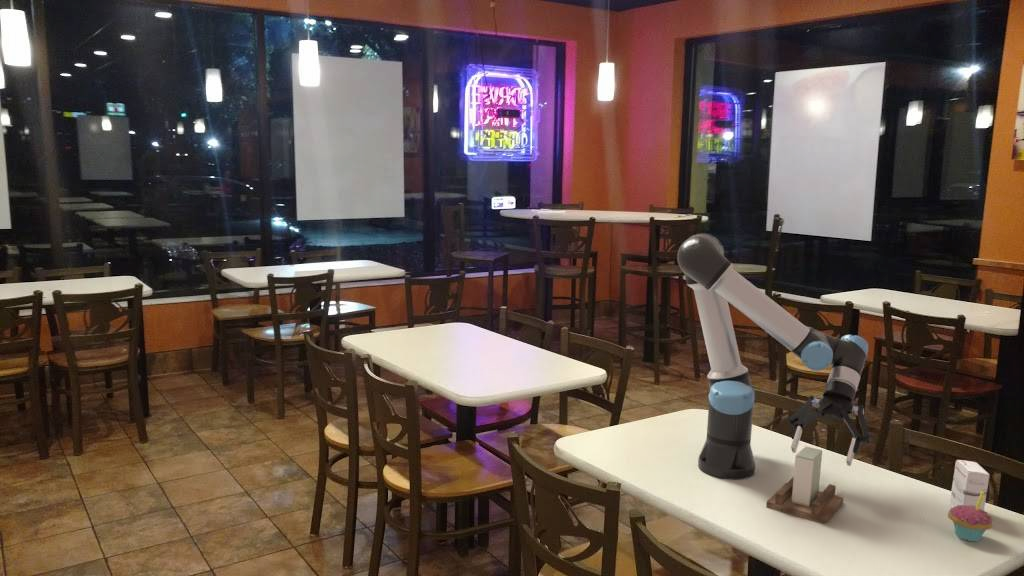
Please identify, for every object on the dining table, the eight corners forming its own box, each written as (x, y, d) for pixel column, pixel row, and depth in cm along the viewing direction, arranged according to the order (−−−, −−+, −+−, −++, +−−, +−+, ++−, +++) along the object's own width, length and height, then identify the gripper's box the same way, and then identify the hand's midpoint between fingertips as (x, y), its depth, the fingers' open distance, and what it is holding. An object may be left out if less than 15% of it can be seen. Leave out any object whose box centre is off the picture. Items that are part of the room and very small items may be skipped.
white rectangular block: (984, 521, 181) (990, 473, 179) (961, 519, 182) (967, 471, 180) (970, 506, 190) (976, 460, 188) (948, 504, 191) (953, 458, 189)
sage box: (791, 502, 185) (795, 455, 183) (801, 492, 192) (805, 446, 190) (808, 507, 183) (813, 459, 181) (818, 496, 189) (822, 450, 187)
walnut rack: (766, 507, 186) (767, 491, 185) (785, 488, 197) (787, 473, 197) (826, 523, 177) (827, 507, 177) (842, 503, 189) (844, 487, 189)
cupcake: (987, 533, 175) (993, 483, 173) (992, 549, 167) (999, 497, 165) (944, 525, 178) (950, 476, 177) (947, 540, 171) (954, 489, 169)
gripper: (893, 404, 199) (874, 476, 189) (796, 386, 214) (774, 451, 204) (891, 388, 194) (871, 461, 184) (791, 371, 209) (768, 437, 199)
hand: (820, 456), depth 194 cm, fingers open, 13 cm apart
